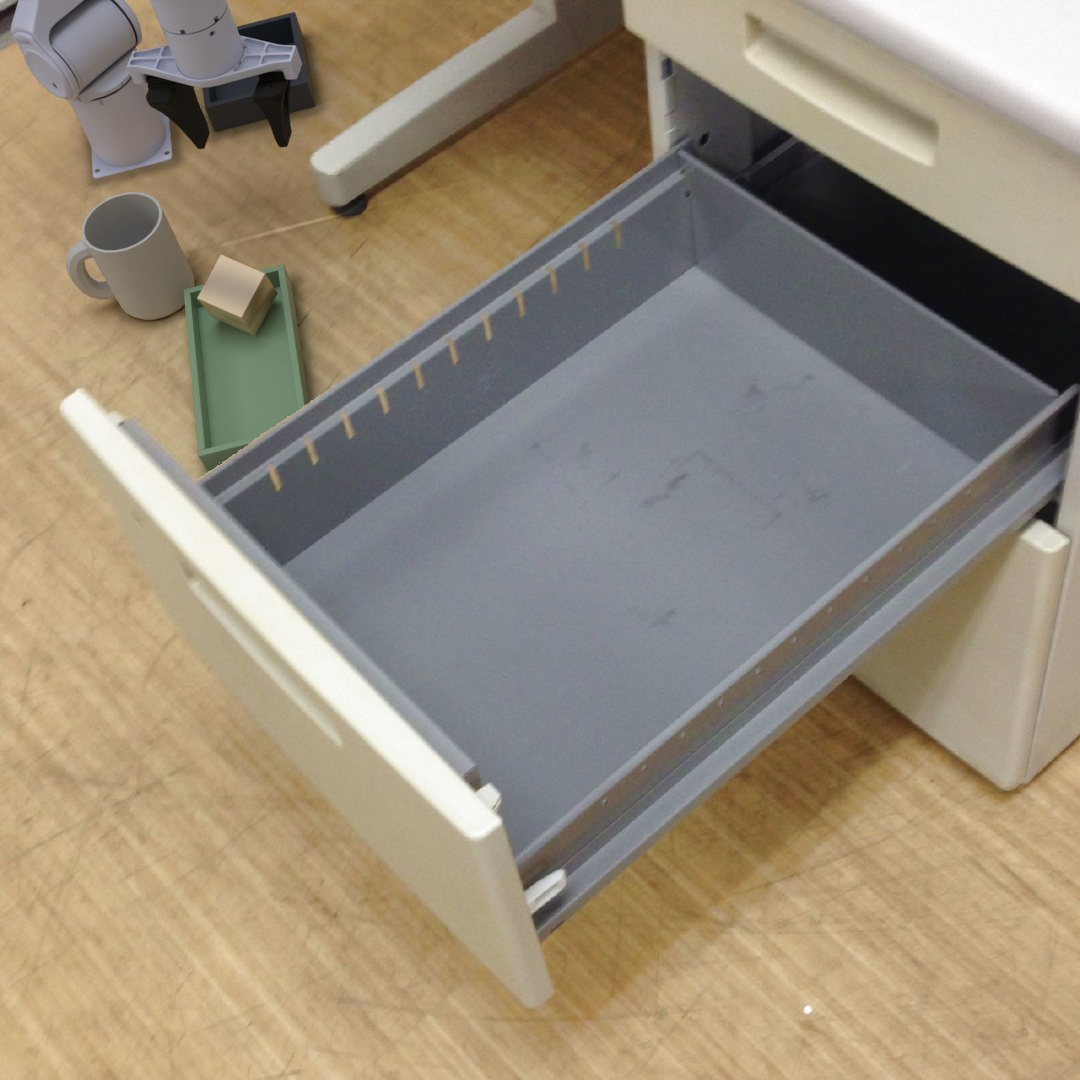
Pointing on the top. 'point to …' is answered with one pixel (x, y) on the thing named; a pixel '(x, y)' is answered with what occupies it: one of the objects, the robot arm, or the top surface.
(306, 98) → the dark grey open box
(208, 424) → the tray
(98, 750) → the top surface
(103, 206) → the cup
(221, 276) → the block
